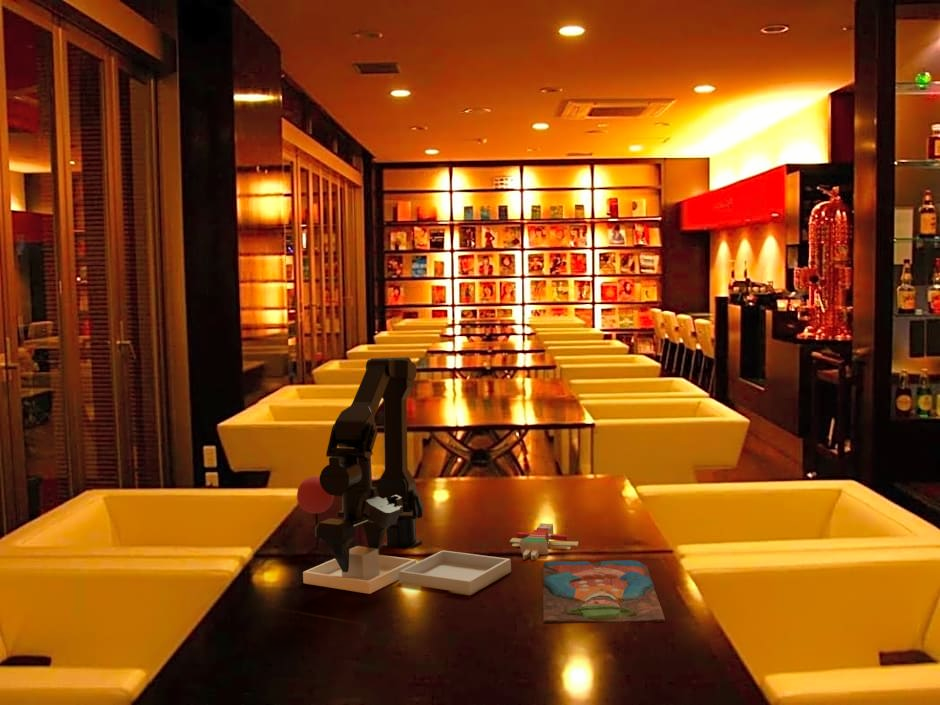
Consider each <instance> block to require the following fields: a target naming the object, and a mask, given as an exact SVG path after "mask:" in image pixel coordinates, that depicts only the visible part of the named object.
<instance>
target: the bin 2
mask: <svg viewBox="0 0 940 705" xmlns="http://www.w3.org/2000/svg"><path fill="white" fill-rule="evenodd" d="M511 561H512V560H511V558H505V557H497V556H490V555H489V556H488V555H482V554H475V553H468V552H467V553H466V552H460V551H459V552H458V551H450V550H440V551H439V552H438V551H437V552H436V553H434V554H432V555H430V556H427V557H425V558H424V559H421V560H419V561H416V563H415V564H413V565H411V566H409V567H407V568H405V569H403V570H401V571H399V580H398V583H399V584H405V585H410V586H411V585H412V586H419V587H424V588H430V589H437V590H438V589H439V590H442V591H443V590H445V591H448V593H452V594H458V595H465V596H471V595H474V594H476V593H478V592H479V591H480V590H482V589H484V588H486V587H487V586H489V585H491V584H492V583H494V582H496V581H498V580H499V579H502V578H503V577H505V576H506V575H508V574H510V573H511V572H512V563H511Z"/></svg>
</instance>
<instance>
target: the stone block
mask: <svg viewBox="0 0 940 705" xmlns="http://www.w3.org/2000/svg"><path fill="white" fill-rule="evenodd" d="M379 555H380V553H379V554H378V549H377V548H369V547H367V546H361V545H356V546H354V547H351V548H349V569H348V572H343V571H342V577H347V578H353V579H360V580H369V579H371V578H373V577H375V576H377V575H379Z"/></svg>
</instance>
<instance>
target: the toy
mask: <svg viewBox="0 0 940 705" xmlns="http://www.w3.org/2000/svg"><path fill="white" fill-rule="evenodd" d="M567 539H568V535H567V534H557V533H556V534H555V533H554V523H543V522H540V523H539V524H538V526H537V527H536V529H534V530H533V531H532V532H517V533H516V537H512V538H511V539H510V540H509V543H510V544H512V545H511V547H520V553H521V554H522V561H524V560H527V559H529V558H530V559H531V561H536V560H538V558H539V557H540V555H542V556H543V555H549V549H553V550H556V549H557V550H571V548H572V547H573V548H574V547H576V548H578V547H579V541H572V540H571V541H568V540H567Z"/></svg>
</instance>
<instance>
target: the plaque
mask: <svg viewBox="0 0 940 705" xmlns="http://www.w3.org/2000/svg"><path fill="white" fill-rule="evenodd" d="M542 565H543V568H542V570H543V575H542V577H543V578H542V580H543V581H542V582H543V584H542V586H543V590H542V591H543V598H542V599H543V600H542V601H543V606H542V607H543V613H542V614H543V615H542V617H543V618H542V620H543V623H544V624H545V623H546V624H563V623H565V624H568V623H569V624H572V623H573V624H574V623H579V624H580V623H585V624H586V623H650V622H651V623H654V622H655V623H663V622H664V623H665V622H666V619H665V614H664V612H663V609H662V607H661V604H660V601H659V599H658V595H657V593H656V590H655V584H654V582H653V580H652V577H651V575H650V571H649V569H648V566H647V565H646V564H643V563H642V562H640V561H639V560H635V559H634V560H632V559H626V560H602V561H600V562H590V561H588V560H587V561H585V560H584V561H581V560H580V561H579V560H578V561H572V560H570V561H569V560H566V561H563V560H560V561H556V560H555V561H546V562H545V563H543V564H542Z"/></svg>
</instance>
